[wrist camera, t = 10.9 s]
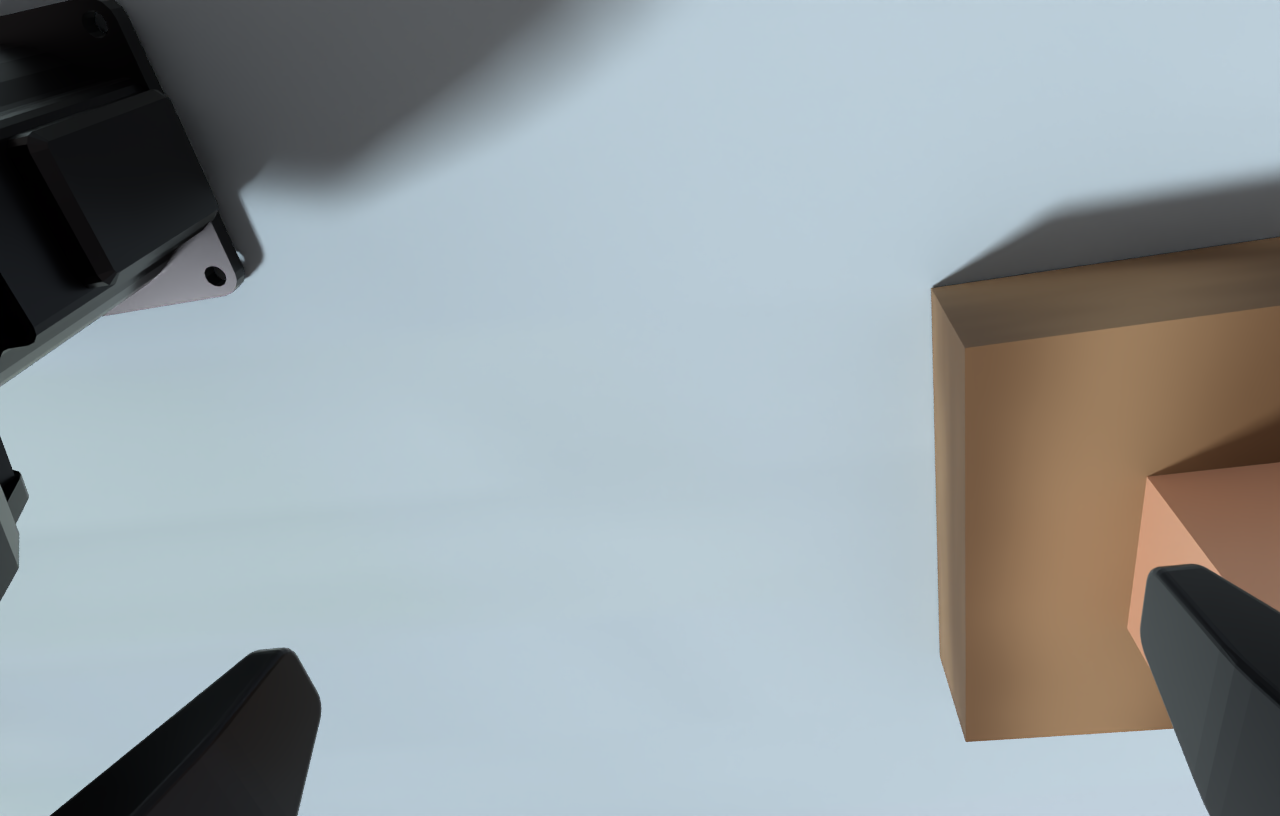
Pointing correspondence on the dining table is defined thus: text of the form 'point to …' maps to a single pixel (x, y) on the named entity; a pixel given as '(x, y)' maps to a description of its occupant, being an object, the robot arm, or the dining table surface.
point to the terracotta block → (1212, 530)
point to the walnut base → (1083, 466)
